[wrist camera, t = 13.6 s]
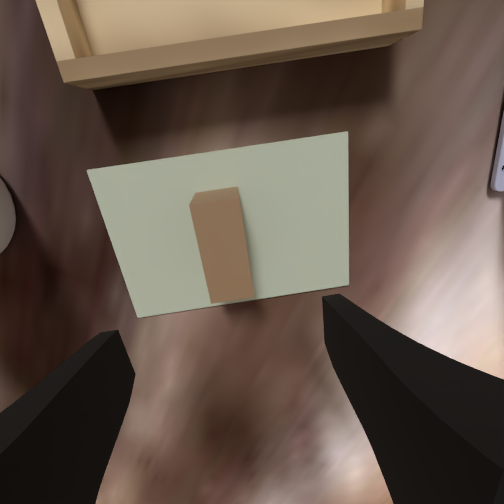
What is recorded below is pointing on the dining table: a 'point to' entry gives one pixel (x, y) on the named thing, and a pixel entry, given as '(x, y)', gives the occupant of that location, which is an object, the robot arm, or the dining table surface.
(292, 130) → the dining table surface
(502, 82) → the dining table surface
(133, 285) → the pale green plate
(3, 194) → the milk bottle
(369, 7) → the wooden box
